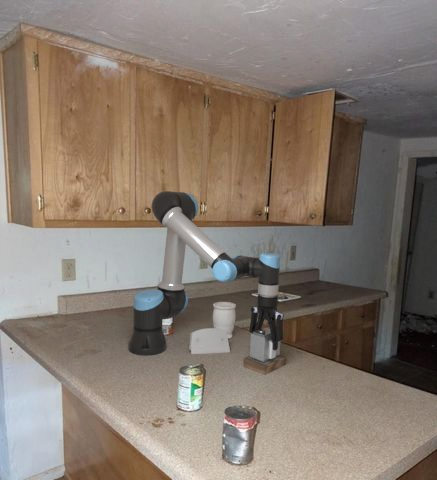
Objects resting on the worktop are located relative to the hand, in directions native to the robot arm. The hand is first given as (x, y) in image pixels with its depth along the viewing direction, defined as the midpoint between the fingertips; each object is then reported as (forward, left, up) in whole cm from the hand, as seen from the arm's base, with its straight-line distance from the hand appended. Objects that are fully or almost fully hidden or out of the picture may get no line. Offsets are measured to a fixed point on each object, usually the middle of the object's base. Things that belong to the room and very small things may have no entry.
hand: (264, 354), depth 144 cm
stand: (0, 0, -4) cm, 4 cm away
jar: (+12, +32, -4) cm, 35 cm away
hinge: (-5, +25, -4) cm, 26 cm away
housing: (0, 0, 0) cm, 0 cm away
